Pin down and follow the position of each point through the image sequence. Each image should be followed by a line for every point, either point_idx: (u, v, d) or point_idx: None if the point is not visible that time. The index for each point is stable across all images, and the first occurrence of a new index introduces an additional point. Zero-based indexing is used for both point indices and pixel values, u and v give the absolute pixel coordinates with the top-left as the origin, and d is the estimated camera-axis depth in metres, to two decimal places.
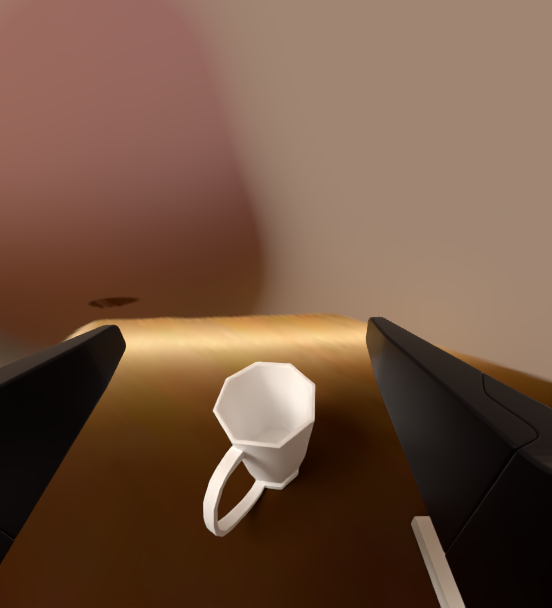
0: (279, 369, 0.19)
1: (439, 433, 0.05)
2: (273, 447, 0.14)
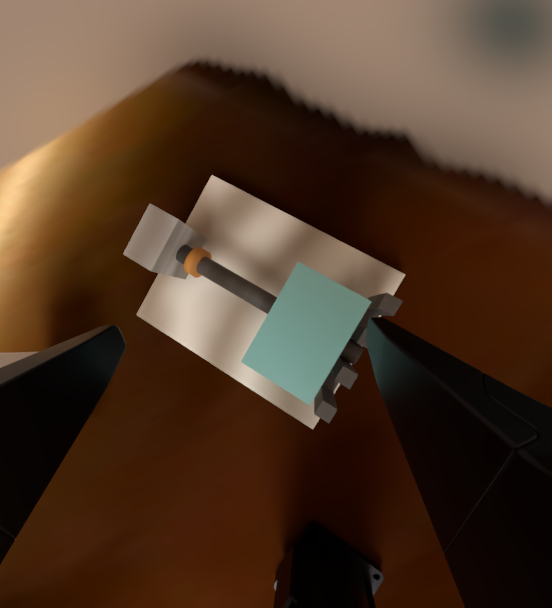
0: None
1: (439, 433, 0.05)
2: None
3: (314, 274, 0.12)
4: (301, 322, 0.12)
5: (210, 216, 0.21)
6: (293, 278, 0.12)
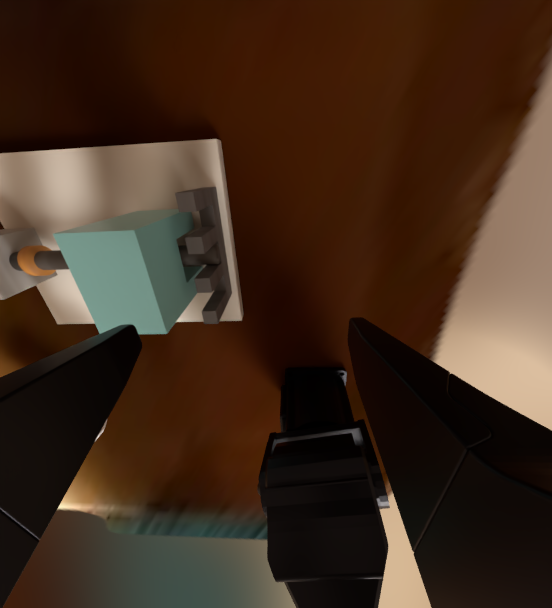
0: None
1: (407, 433, 0.05)
2: None
3: (75, 236, 0.12)
4: (106, 281, 0.13)
5: (12, 203, 0.19)
6: (65, 250, 0.12)
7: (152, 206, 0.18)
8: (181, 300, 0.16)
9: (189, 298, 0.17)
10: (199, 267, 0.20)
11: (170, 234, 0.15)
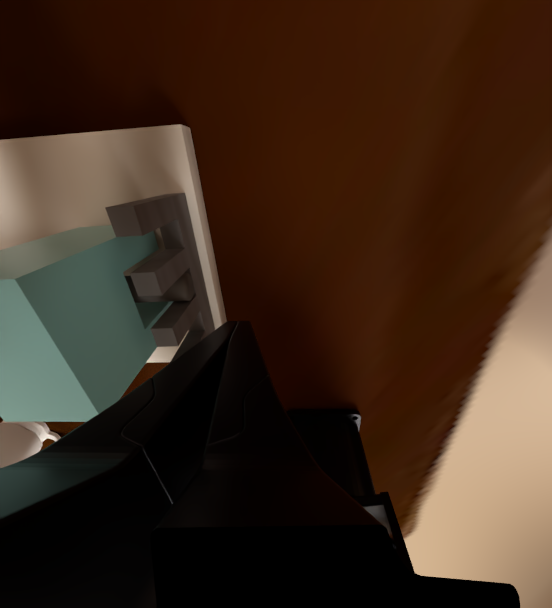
0: None
1: None
2: None
3: None
4: None
5: None
6: None
7: (100, 220, 0.13)
8: (134, 358, 0.11)
9: (150, 349, 0.12)
10: None
11: (110, 267, 0.10)
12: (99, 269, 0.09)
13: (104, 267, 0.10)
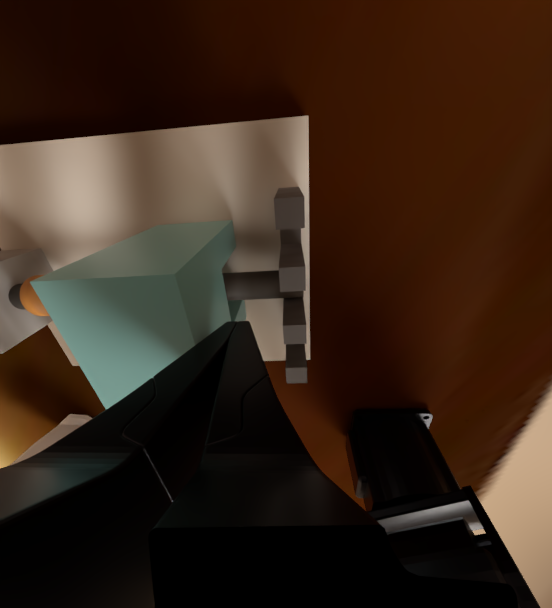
0: None
1: None
2: None
3: (69, 285, 0.07)
4: (123, 353, 0.08)
5: (10, 216, 0.14)
6: (53, 308, 0.07)
7: (205, 216, 0.13)
8: None
9: None
10: None
11: (215, 264, 0.10)
12: (211, 266, 0.09)
13: (213, 264, 0.09)
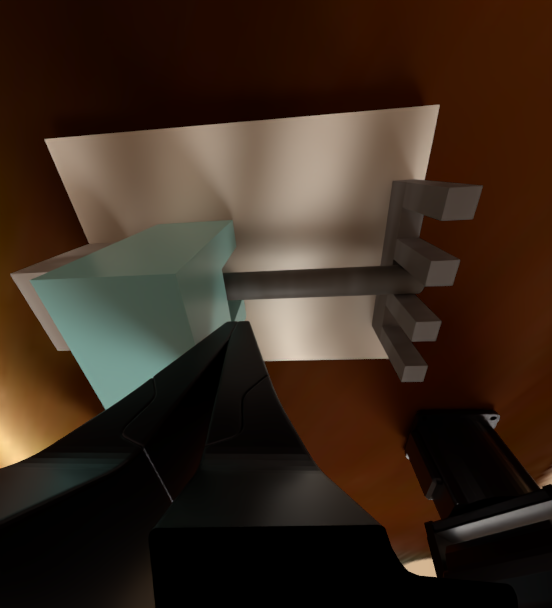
0: None
1: None
2: None
3: (69, 284, 0.07)
4: (122, 352, 0.08)
5: (105, 208, 0.13)
6: (53, 307, 0.07)
7: (309, 209, 0.13)
8: None
9: None
10: None
11: (216, 264, 0.10)
12: (211, 265, 0.09)
13: (214, 263, 0.09)
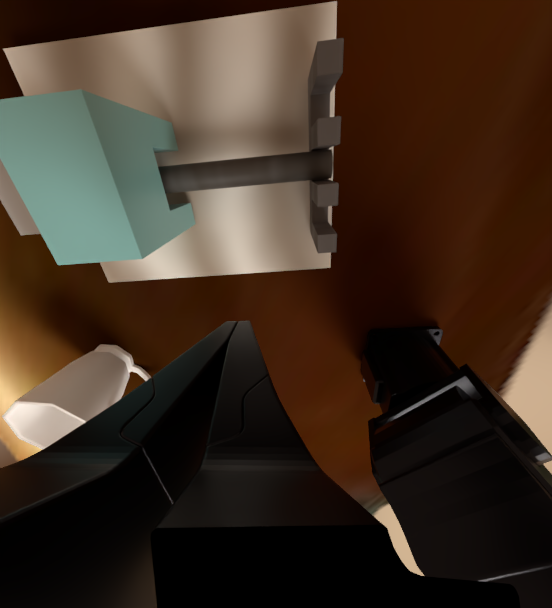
0: (16, 419, 0.19)
1: None
2: None
3: (1, 106, 0.08)
4: (53, 180, 0.09)
5: None
6: None
7: (239, 111, 0.14)
8: (163, 228, 0.13)
9: (174, 231, 0.14)
10: (187, 203, 0.16)
11: (143, 135, 0.12)
12: (135, 130, 0.11)
13: (139, 131, 0.11)
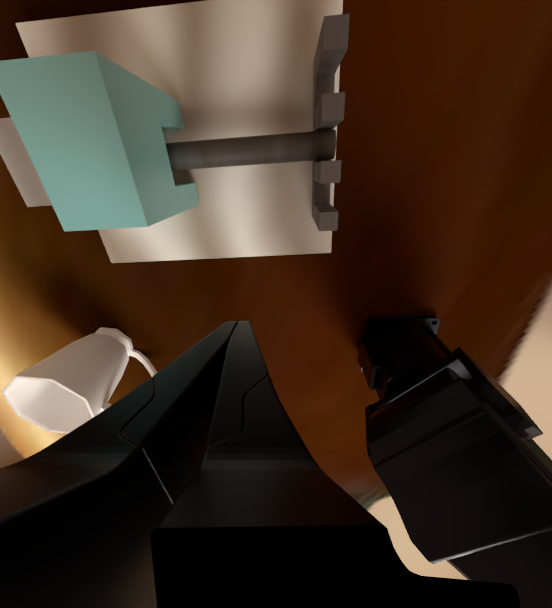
0: (15, 396, 0.19)
1: None
2: (88, 402, 0.19)
3: (16, 66, 0.09)
4: (64, 143, 0.10)
5: None
6: (6, 92, 0.09)
7: (246, 92, 0.15)
8: (168, 201, 0.13)
9: (178, 207, 0.14)
10: (191, 183, 0.17)
11: (151, 107, 0.12)
12: (144, 101, 0.11)
13: (148, 103, 0.11)
